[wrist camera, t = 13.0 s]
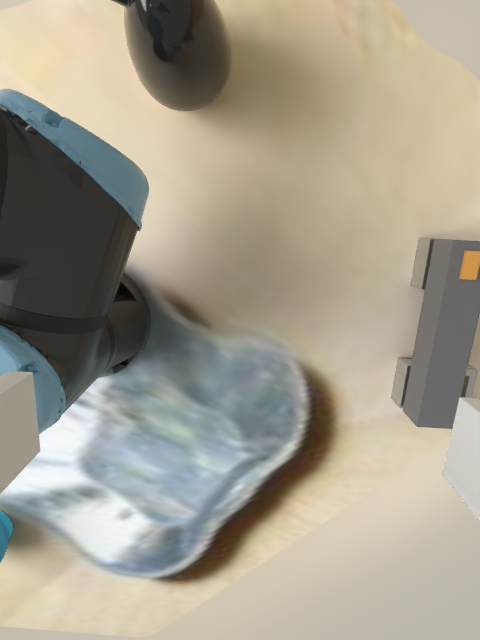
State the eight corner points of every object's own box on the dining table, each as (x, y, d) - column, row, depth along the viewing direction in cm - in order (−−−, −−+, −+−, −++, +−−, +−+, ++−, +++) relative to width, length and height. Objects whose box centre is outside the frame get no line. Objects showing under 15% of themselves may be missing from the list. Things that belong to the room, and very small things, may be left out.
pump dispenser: (147, 12, 40) (88, -116, 25) (239, 28, 40) (235, -89, 25) (138, 112, 42) (81, 50, 28) (226, 127, 43) (215, 73, 28)
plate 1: (391, 397, 51) (400, 408, 48) (398, 357, 49) (407, 365, 46) (455, 401, 51) (467, 412, 48) (463, 361, 49) (477, 369, 46)
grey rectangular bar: (392, 397, 51) (418, 428, 43) (419, 238, 45) (455, 240, 37) (423, 399, 51) (455, 430, 43) (454, 240, 45) (497, 242, 37)
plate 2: (410, 285, 47) (421, 289, 44) (418, 238, 45) (430, 238, 42) (479, 289, 47) (495, 293, 44) (490, 242, 45) (507, 243, 42)
